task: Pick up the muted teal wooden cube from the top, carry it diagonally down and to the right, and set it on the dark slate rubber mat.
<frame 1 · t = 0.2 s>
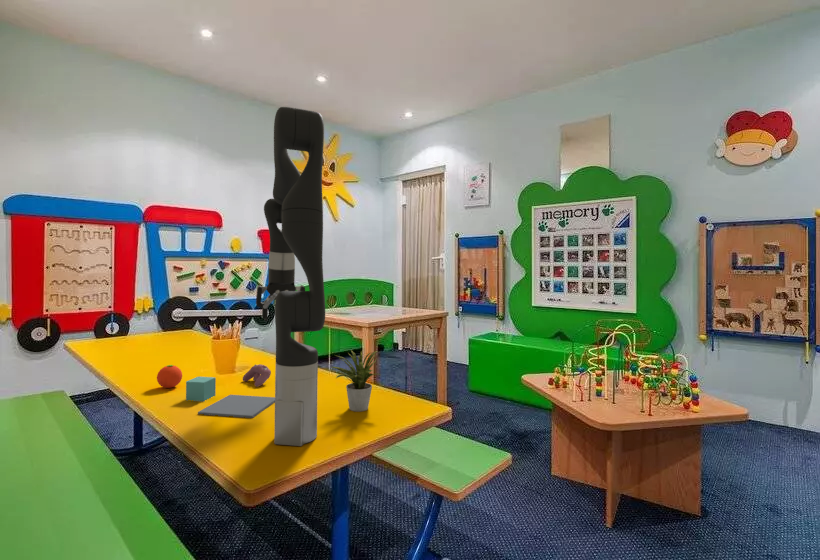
hand: (280, 319, 127), 22 cm above the table, tool pointing down, fingers open, 8 cm apart
slate mat: (240, 406, 114), on the table
teal cube: (201, 398, 121), on the table
video game controller: (257, 383, 138), on the table
house plant: (359, 407, 116), on the table
tomato: (169, 387, 131), on the table
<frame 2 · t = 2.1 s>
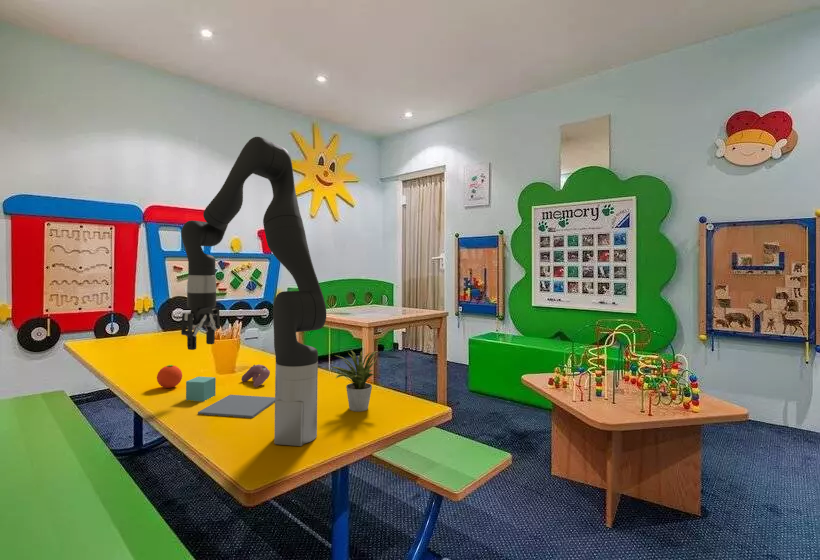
hand: (201, 346, 121), 15 cm above the table, tool pointing down, fingers open, 8 cm apart
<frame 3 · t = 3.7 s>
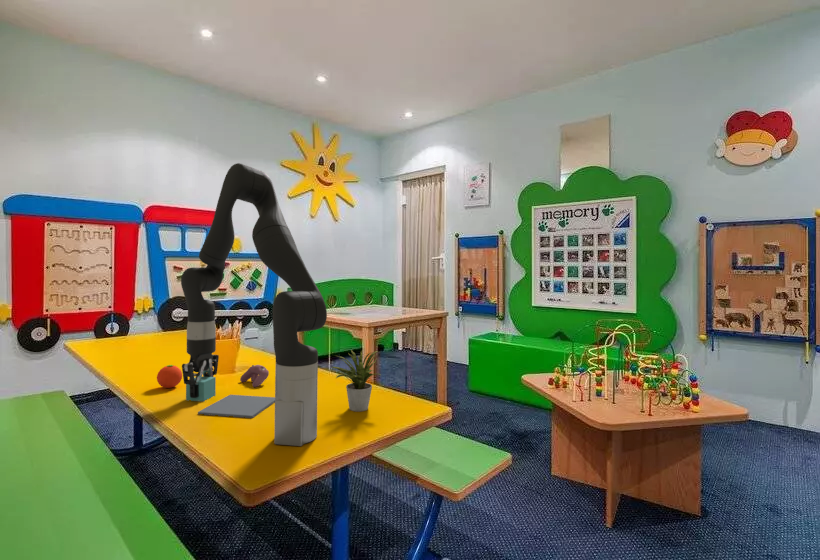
hand: (201, 394, 121), 1 cm above the table, tool pointing down, fingers closed on teal cube, 5 cm apart
teal cube: (201, 397, 121), on the table, touching gripper
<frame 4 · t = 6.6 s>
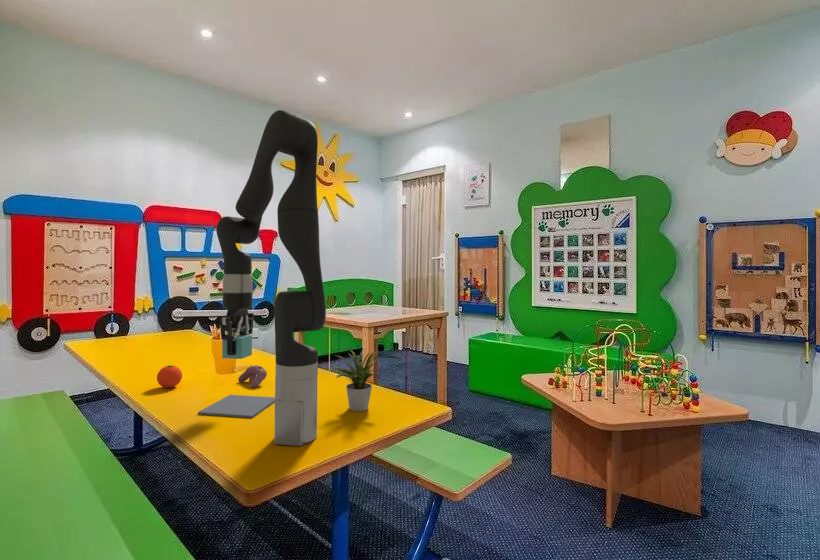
hand: (237, 352, 114), 15 cm above the table, tool pointing down, fingers closed on teal cube, 5 cm apart
teal cube: (237, 356, 114), point 14 cm above the table, touching gripper
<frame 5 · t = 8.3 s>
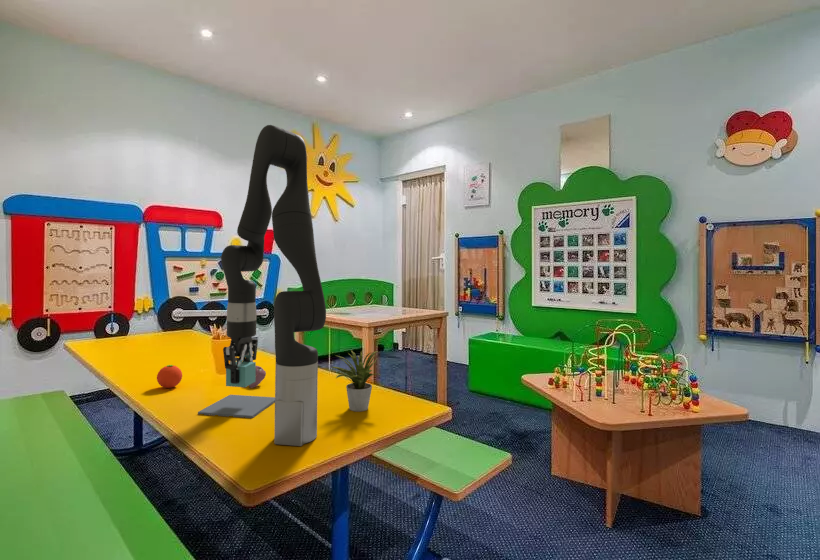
hand: (241, 379, 114), 7 cm above the table, tool pointing down, fingers closed on teal cube, 5 cm apart
teal cube: (241, 383, 114), point 6 cm above the table, touching gripper
when the fingers open (3 cm above the table, at t = 9.6 s): teal cube drops 1 cm, resting on slate mat.
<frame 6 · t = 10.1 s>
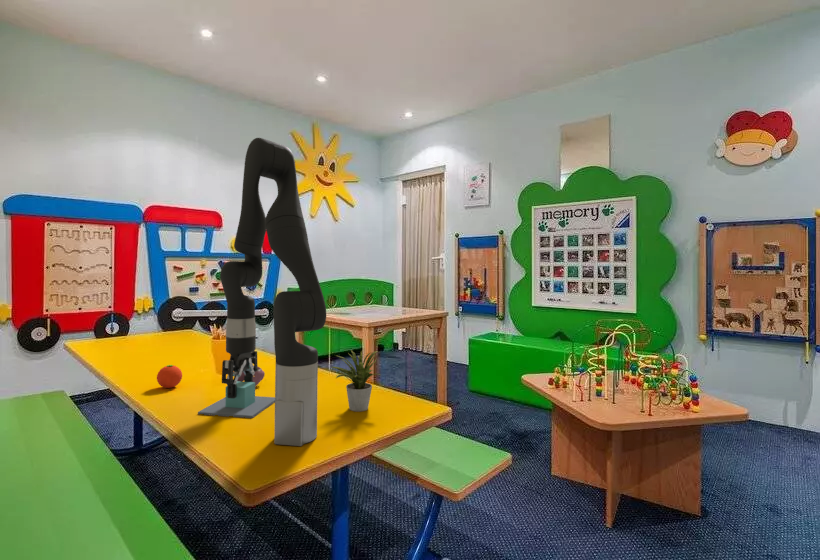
hand: (240, 393, 114), 4 cm above the table, tool pointing down, fingers open, 8 cm apart
teal cube: (240, 404, 114), point 1 cm above the table, touching slate mat
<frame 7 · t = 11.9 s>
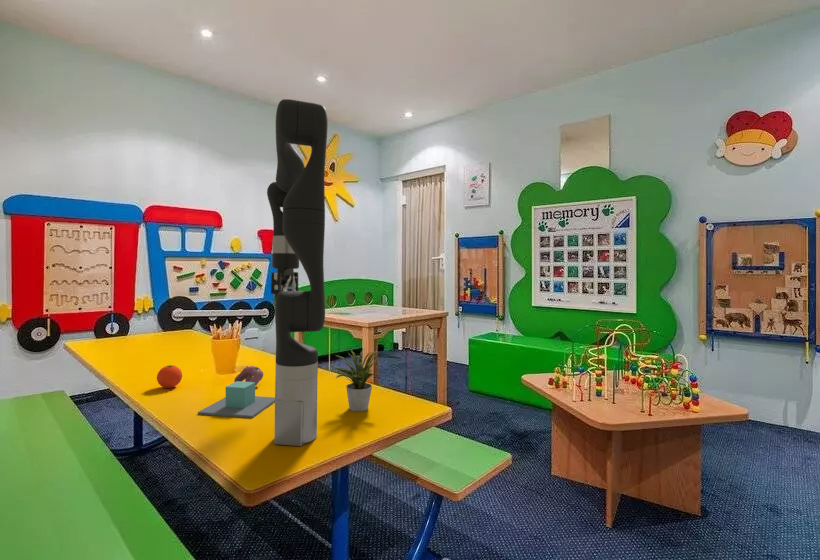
hand: (285, 307, 121), 27 cm above the table, tool pointing down, fingers open, 8 cm apart
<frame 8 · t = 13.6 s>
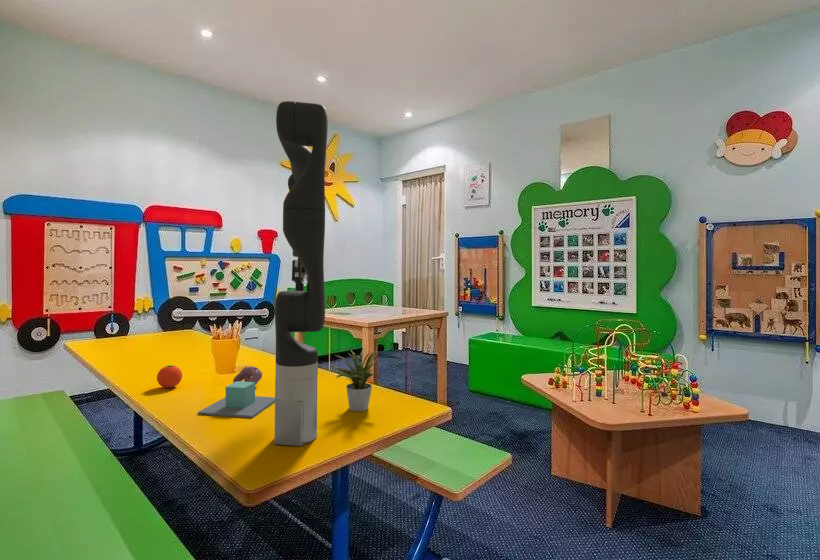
hand: (305, 295, 125), 30 cm above the table, tool pointing down, fingers open, 8 cm apart
at the end: teal cube inside the target area on the slate mat (0.1 cm from its centre), point 0.6 cm above the slate mat's base; the gripper is holding nothing; teal cube moved 15.8 cm from its start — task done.
